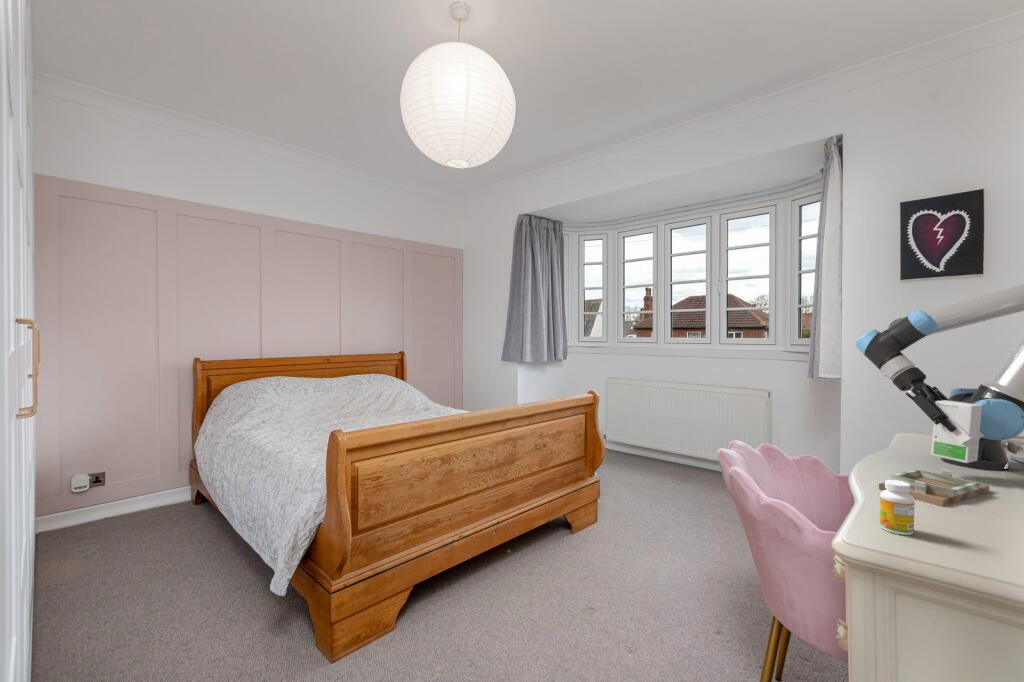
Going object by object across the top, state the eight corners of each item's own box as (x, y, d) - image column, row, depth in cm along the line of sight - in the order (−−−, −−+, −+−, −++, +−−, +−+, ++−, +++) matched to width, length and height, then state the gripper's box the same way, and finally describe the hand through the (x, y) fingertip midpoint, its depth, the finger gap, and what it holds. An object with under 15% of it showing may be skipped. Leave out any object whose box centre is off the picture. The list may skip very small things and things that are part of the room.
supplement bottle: (875, 523, 100) (876, 477, 100) (907, 527, 98) (908, 480, 98) (884, 533, 95) (886, 484, 95) (918, 537, 93) (919, 488, 93)
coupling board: (926, 477, 132) (926, 465, 132) (989, 491, 121) (989, 478, 121) (878, 489, 122) (879, 476, 122) (942, 506, 110) (943, 492, 110)
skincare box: (930, 456, 134) (932, 400, 134) (941, 453, 137) (943, 399, 137) (969, 463, 126) (971, 405, 126) (980, 461, 130) (982, 403, 129)
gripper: (909, 380, 149) (975, 444, 135) (875, 382, 141) (942, 450, 126) (931, 365, 144) (1002, 429, 130) (897, 366, 136) (969, 435, 122)
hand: (972, 439), depth 128 cm, fingers closed on skincare box, 6 cm apart
